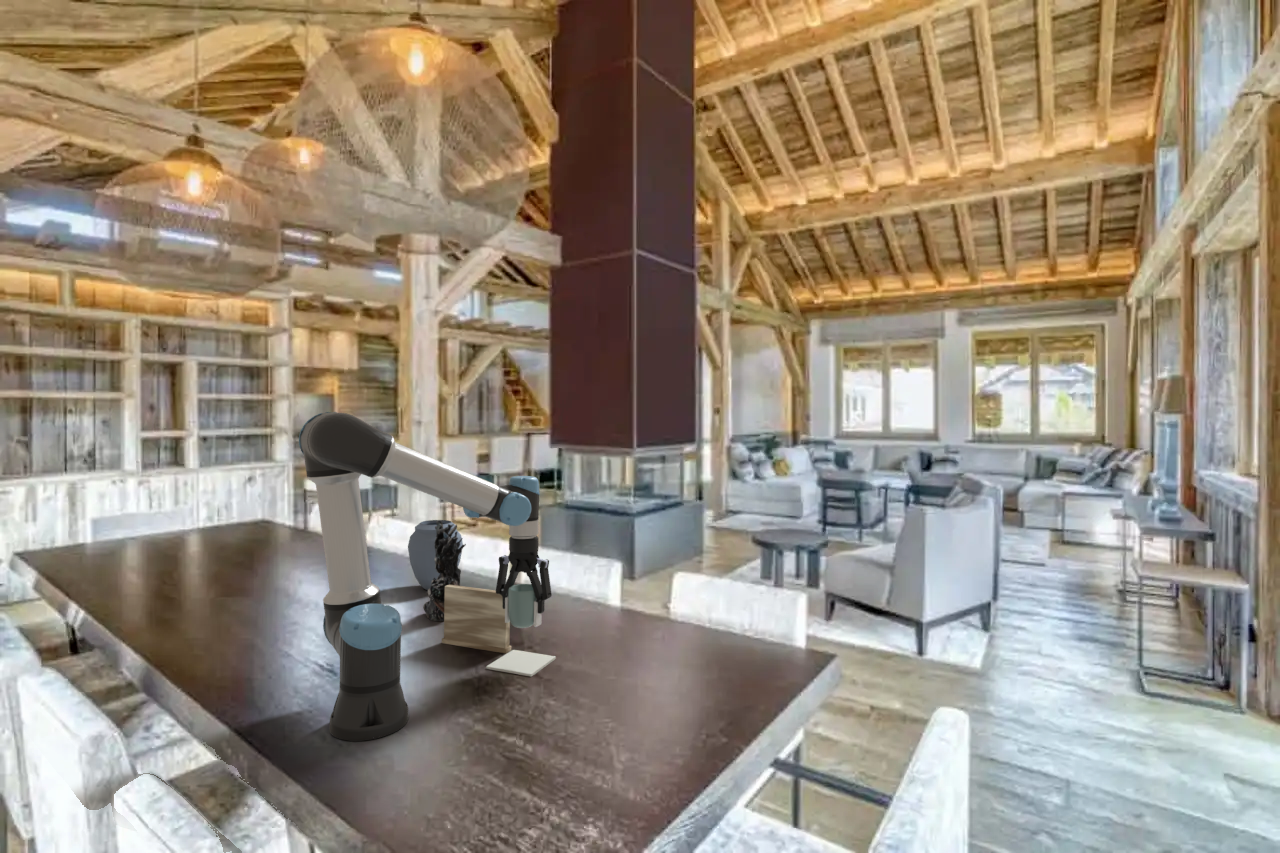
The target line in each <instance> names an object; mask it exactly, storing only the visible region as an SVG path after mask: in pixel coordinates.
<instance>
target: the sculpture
mask: <svg viewBox="0 0 1280 853" xmlns="http://www.w3.org/2000/svg"><path fill="white" fill-rule="evenodd" d="M437 520H438V521H436V523H437V526H435V529H436V534H437V535H436V539H435V543H434V547H435V551H436V554H435V569H436V571H437V573H440V575H439V576H438V577H437V579H435V578H433V579H432V582H431V588H430V589H429V590H427V596H428V597H429V598H428V599H429V600H428V601H427V602H425V603H423V606H422V609H423V611H424V612H425V615H426V618H427V619H429V620H430V621H438V622H444V601H445V586H447V585H456V586H461V573H462V570H461V569H460V568H459V566H457V563H458V559H459V558H458V556H459V554H460V553H463V549H464V548H465V547H466V546H467V544H466V543H464V544H463V545H462V546H461V547H460V548H459V546H460V544H459V543H460V542H461V540H462V541H463V538H464V537H462V539H461V540H460V541H459V542H457V543H456V541H457V539H458V538H457V532H459V530H457V532H455V536H454V537H451V536H452V534H453V533H454V531H455V530H456V528H458V524H455V523H454V524H455V525H456V526H454V528H453V529H452V530H451V531H450V529H451V527H452V526H453V525H454V524H452V525H450V524H448V527H446V528H444V529H443V524H442V521H441V520H442V519H437ZM449 531H450V533H449ZM458 548H459V549H458Z"/></svg>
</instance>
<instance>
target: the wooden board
mask: <svg viewBox="0 0 1280 853" xmlns="http://www.w3.org/2000/svg"><path fill="white" fill-rule="evenodd" d="M510 626H511V622H508V623H505V609H503V597H502V595H500V594H497V593H496V589H494V590H493V589H489V588H488V589H487V588H479V587H473V586H472V587H471V586H465V585H464V586H463V585H460V586H456V585H447V586H445V601H444V621H443V637H442V638H441V644H446V645H453V646H456V647H457V646H458V647H465V648H468V649H469V648H471V649H476V650H482V651H488V652H494V653H495V652H496V653H500V654H507V653H509V652H510V651H512V645H510V639H511V638H510V636H511V635H510V634H511V633H510V629H511V627H510Z"/></svg>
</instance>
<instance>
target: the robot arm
mask: <svg viewBox="0 0 1280 853" xmlns="http://www.w3.org/2000/svg"><path fill="white" fill-rule="evenodd" d="M298 445H299V448H300V452H301V453H302V455H303V458H304V466H305V473H306V478H307V479H308V480H310V481H311V482H312V483H314V485H315V488H316V489H315V490H316V497H317V502H318V512H319V519H320V527H321V534H322V543H323V551H324V558H325V564H326V574H327V579H328V580H327V581H328V588H329V591H328V592H327V593H326V594H325V596H324V597H323V599H322V601H323V609H324V616H323V624H322V629H323V633H324V637H325V638H326V640H327V642H328V643H329V644H330V645H331V646H332V647H333V649H334V651H336V652H335V653H336V654H337V655H338V656H339V690H338V694H337V696H336V700H335V703H334V706H333V710H332V712H331V714H330V717H329V733H330V735H332V736H333V737H335V738H336V739H339V740H342V741H351V742H355V741H356V742H357V741H358V742H360V741H361V742H362V741H370V740H376V739H379V738H383V737H385V736H389V735H391V734H395V733H396V732H397V731H399V730H401V729H402V728H403V727H405V726H406V724H407V723H408V721H409V705H408V703H407V702H406V699H405V695H404V691H403V688H402V683H401V657H402V656H401V652H402V651H401V649H402V648H401V647H402V645H401V643H402V640H401V638H402V631H403V627H402V626H403V625H402V620H401V614H400V612H399V611H398V610H397V609H396V608H394V607H393V606H392V605H391V606H390V605H385V604H384V603H383V604H382V600H381V598H382V597H381V592H380V591H381V590H380V587H379V586H378V585H376V584H374V583H373V582H372V578H371V576H372V575H371V570H370V562H369V554H368V545H367V538H366V529H365V522H364V514H363V506H362V496H361V489H360V488H361V487H360V480H359V478H360V477H361V476H366V477H369V478H371V479H374V478H377V477H382V478H385V479H387V480H389V481H390V480H391V481H393V482H396V483H398V484H400V485H403V486H406V487H409V488H411V489H414V490H416V491H419V492H422V493H424V494H427V495H430V496H432V497H435V498H438V499H439V500H442V501H446V502H448V503H451V504H453V505H456V506H458V507H462V510H463V513H464V515H465V516H466V517H467V518H470V519H471V518H477V519H480V518H487V519H488V518H489V519H490V520H494V521H497V522H499V523H502V524H503V525H507V526H508V528H509V529H508V530H509V531H508V534H509V535H510V537H509V538H508V539H509V540H508V550H509V554H508V555H506V554H504V555H502V556H499V557H498V564H499V568H498V574H497V582H496V587H495V590H496V593H497V594H500V595H502V597H503V609H505V623H508V622H510V619H509V613H508V589H509V587H511V586H513V585H515V583H516V581H517V578H518V575H519V574H520V573H524V574H526V577H528V578H529V582H530V584H531V585H532V587H533V590H534V593H535V596H536V599H537V600H536V601H534V625H533V627H535V628H537V627H539V626H541V625H542V621H543V620H542V618H543V617H542V614H543V613H544V612H545V601H546V600H548V599H550V598H552V596H553V595H552V587H551V579H550V574H549V572H550V571H549V566H550V560H549V559H547V558H546V559H543V558H540V556H539V547H540V545H539V543H540V542H539V540H540V538H539V536H538V534H539V523H540V520H539V518H540V517H539V516H540V515H539V514H540V512H539V508H540V506H539V505H540V495H541V494H540V484H539V483H540V482H539V479H538V478H537V477H536V476H531V475H517V476H511V477H510V478H509V482H508V484H506V485H504V484H503V485H497V484H495V483H493V482H491V481H489V480H486V479H484V478H481V477H479V476H476V475H474V474H472V473H469V472H467V471H466V470H465V471H464V470H463V469H460V468H458V467H455V466H453V465H450V464H448V463H446V462H443V461H441V460H439V459H436V458H433V457H431V456H428V455H426V454H425V453H421V452H420V451H417V450H415V449H413V448H411V447H410V448H409V447H407V446H405V445H403V444H401V443H397V442H396V440H395V438H394V436H393V435H392V434H390V433H386V432H385V431H383V430H380V429H378V428H377V427H375V426H373V425H371V424H369V423H367V422H366V421H364V420H362V419H360V418H359V417H357V416H355V415H353V414H350V413H348V412H347V413H346V412H336V411H326V412H321V413H318V414H316V415H313V416H312V417H311V418H309V419H308V420H307V421H306V422H305V423H304V424H303V425H302V428H301V430H300V432H299V436H298ZM509 563H510V564H511V568H510V570H509V575H508V569H509ZM537 565H538V568H539V575H538V569H537ZM539 577H540V578H539ZM510 623H511V622H510Z"/></svg>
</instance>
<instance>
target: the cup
mask: <svg viewBox="0 0 1280 853" xmlns="http://www.w3.org/2000/svg"><path fill="white" fill-rule="evenodd" d="M536 600H537V599H536V596H535V593H534V590H533V587H532V585H531V583H517V584H514V585H513V586H511V587H509V589H508V613H509V619H510V625H512V626H513V627H514V628H517V629H527V628H530V627H532V626H534V601H536Z"/></svg>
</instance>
